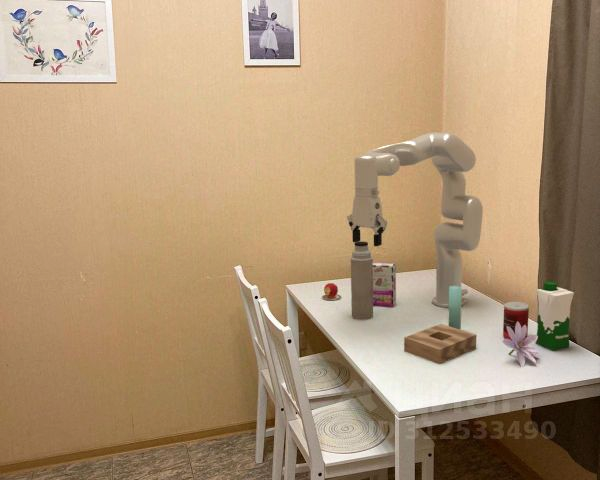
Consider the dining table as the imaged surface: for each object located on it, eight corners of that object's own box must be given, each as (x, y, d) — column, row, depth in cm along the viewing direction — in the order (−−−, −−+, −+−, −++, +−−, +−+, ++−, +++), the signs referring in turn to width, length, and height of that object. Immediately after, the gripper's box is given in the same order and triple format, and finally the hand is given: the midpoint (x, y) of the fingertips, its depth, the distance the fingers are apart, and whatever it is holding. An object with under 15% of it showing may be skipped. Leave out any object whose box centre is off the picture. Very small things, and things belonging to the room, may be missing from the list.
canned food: (527, 334, 208) (528, 302, 205) (527, 342, 200) (529, 309, 198) (503, 332, 210) (504, 300, 208) (502, 340, 203) (503, 308, 201)
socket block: (440, 336, 208) (440, 323, 207) (476, 348, 197) (476, 334, 196) (404, 350, 197) (404, 337, 196) (439, 363, 186) (439, 349, 185)
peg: (453, 330, 214) (454, 285, 210) (462, 333, 210) (463, 287, 207) (445, 332, 211) (446, 287, 208) (455, 336, 208) (456, 289, 205)
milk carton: (552, 338, 203) (555, 279, 199) (574, 347, 195) (578, 286, 191) (531, 343, 200) (534, 283, 196) (552, 352, 191) (556, 290, 187)
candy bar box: (396, 303, 244) (396, 263, 240) (393, 307, 239) (393, 266, 236) (368, 301, 248) (368, 261, 245) (365, 305, 244) (364, 264, 240)
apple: (341, 300, 250) (341, 285, 249) (321, 301, 250) (321, 285, 249) (340, 295, 258) (340, 279, 257) (321, 295, 258) (321, 280, 257)
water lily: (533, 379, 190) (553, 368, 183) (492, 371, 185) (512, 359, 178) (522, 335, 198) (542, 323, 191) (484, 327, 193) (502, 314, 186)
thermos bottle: (374, 313, 234) (373, 240, 228) (372, 320, 226) (371, 244, 220) (352, 312, 235) (351, 239, 230) (350, 319, 228) (349, 244, 222)
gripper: (393, 193, 201) (394, 245, 205) (355, 189, 214) (356, 238, 218) (378, 196, 197) (378, 249, 200) (339, 192, 209) (340, 241, 213)
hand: (366, 243), depth 209 cm, fingers open, 9 cm apart
